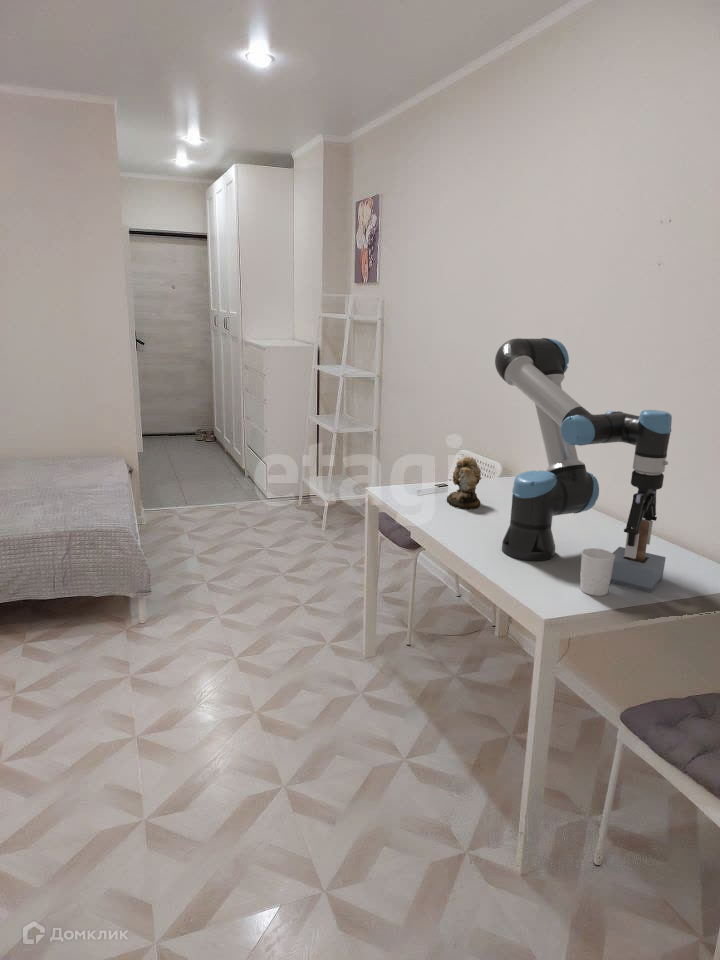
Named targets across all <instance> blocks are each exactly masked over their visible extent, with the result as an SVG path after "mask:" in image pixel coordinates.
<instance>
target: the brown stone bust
mask: <svg viewBox="0 0 720 960" xmlns="http://www.w3.org/2000/svg"><path fill="white" fill-rule="evenodd" d="M455 467H456V468H454V471H453V472H452V473H453V474H452V482H453V485H456V486H458V489H456V491H453V492H450V494H448V495H447V496H446V502H447V504H448V503H449V505H450V506H451V505H452V506H451V507H453V506H454V507H453V508H456V507H458V508H459V509H460V508H462V509H461V510H475V509H479V508H480V506H481V500H480V499H479V498H478V496H477V493H476V489H477V485H478V484H479V483H480V481H481V479H482V478H481V467H480V466H478V463H477V460H476V459H475V458H473V457H472V456H464V457H463V458H462V459H459V460H457V461H456V466H455Z"/></svg>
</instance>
